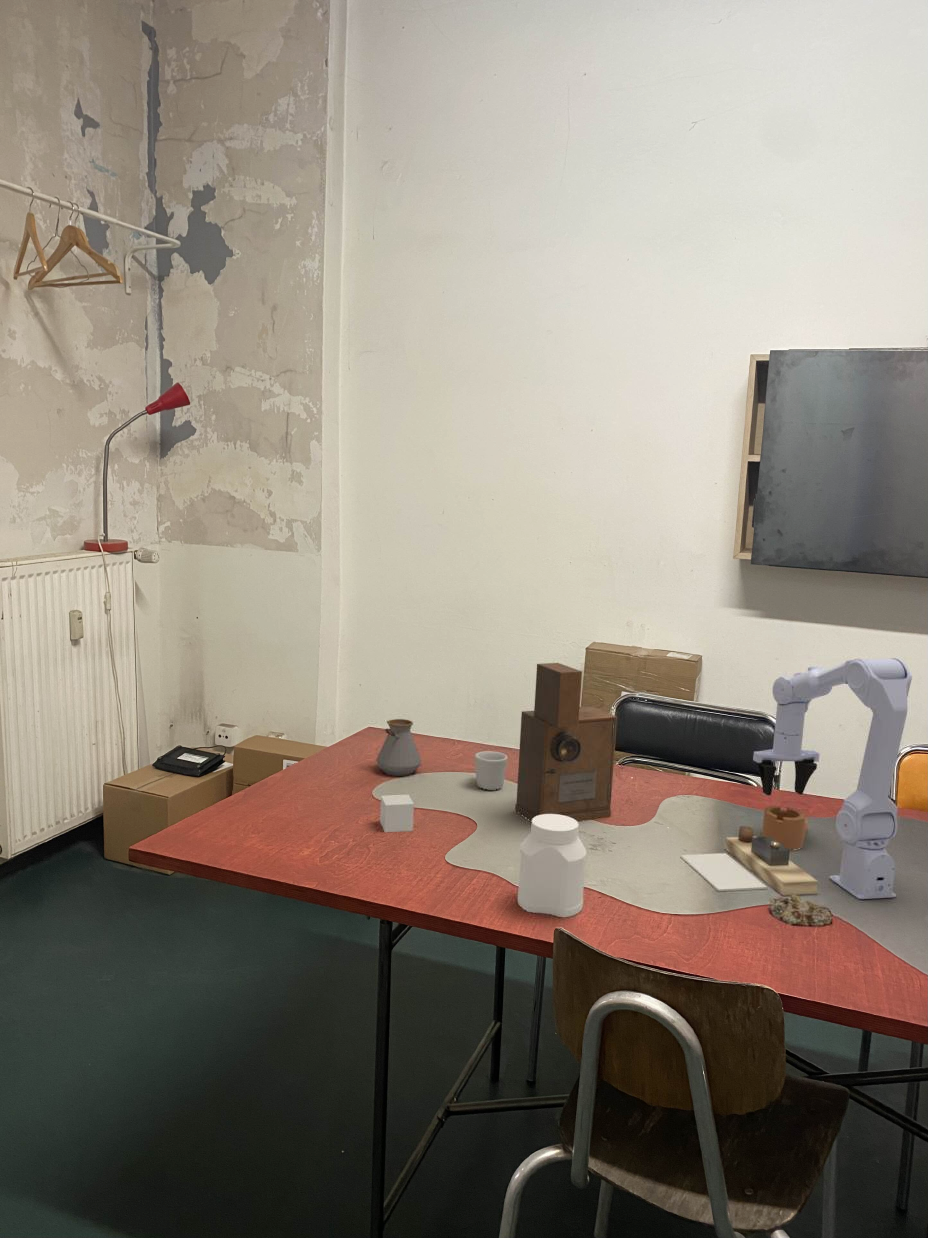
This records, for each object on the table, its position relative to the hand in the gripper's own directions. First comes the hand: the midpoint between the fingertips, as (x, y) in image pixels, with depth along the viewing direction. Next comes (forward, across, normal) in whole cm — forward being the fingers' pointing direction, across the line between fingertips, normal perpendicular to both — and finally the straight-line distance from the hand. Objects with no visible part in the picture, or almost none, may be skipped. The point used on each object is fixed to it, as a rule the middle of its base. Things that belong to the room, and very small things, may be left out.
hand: (782, 793), depth 196 cm
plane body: (+10, +12, +16) cm, 22 cm away
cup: (+10, +56, -38) cm, 69 cm away
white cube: (+10, +82, -13) cm, 84 cm away
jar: (+10, +60, +26) cm, 66 cm away
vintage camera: (+10, +44, -17) cm, 48 cm away
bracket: (+10, -2, -1) cm, 11 cm away
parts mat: (+10, +22, +16) cm, 29 cm away
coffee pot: (+10, +78, -46) cm, 92 cm away
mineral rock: (+11, +17, +35) cm, 41 cm away
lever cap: (+7, +12, +16) cm, 21 cm away
